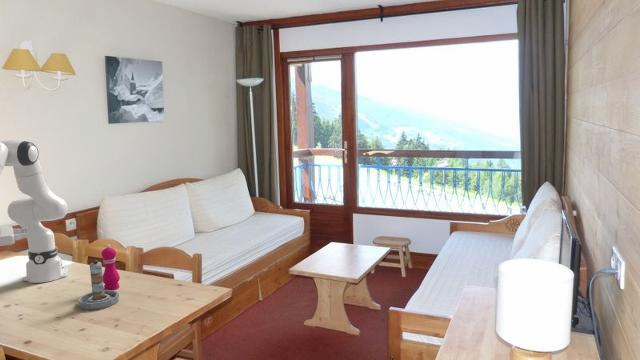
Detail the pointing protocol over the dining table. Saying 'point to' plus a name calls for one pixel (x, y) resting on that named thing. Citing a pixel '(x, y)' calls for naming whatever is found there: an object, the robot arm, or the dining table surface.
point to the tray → (90, 304)
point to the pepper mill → (110, 269)
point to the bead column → (97, 280)
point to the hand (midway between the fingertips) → (27, 232)
